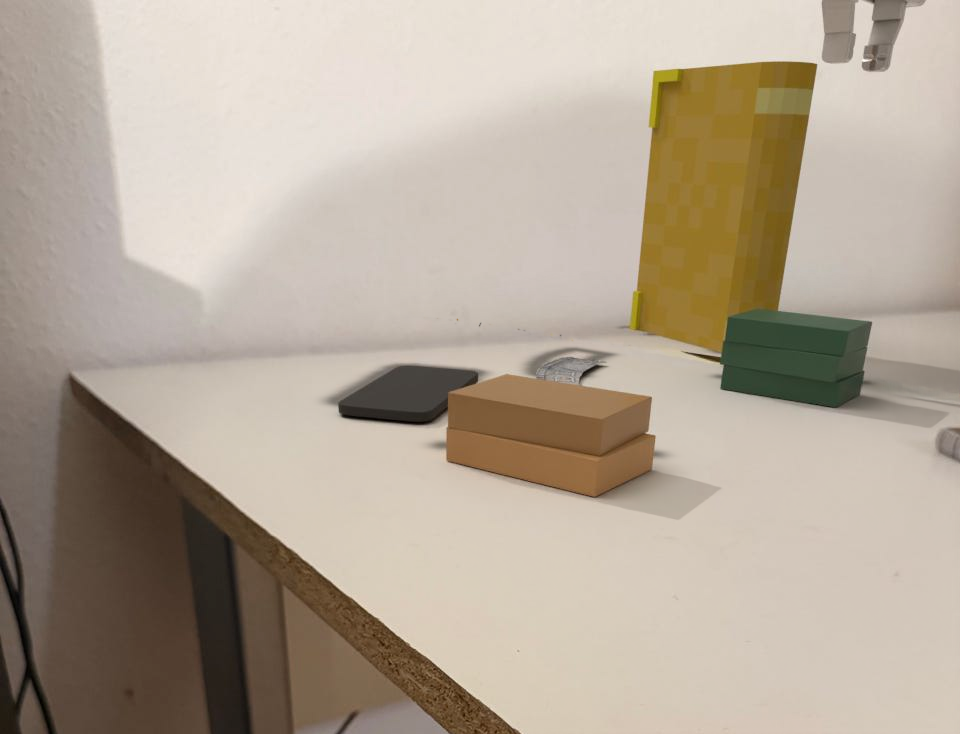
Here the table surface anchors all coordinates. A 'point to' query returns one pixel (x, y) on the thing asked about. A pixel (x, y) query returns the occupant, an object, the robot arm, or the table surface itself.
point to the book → (719, 195)
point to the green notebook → (798, 332)
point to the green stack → (792, 373)
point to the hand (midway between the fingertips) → (856, 67)
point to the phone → (407, 393)
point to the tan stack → (551, 432)
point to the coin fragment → (565, 369)
